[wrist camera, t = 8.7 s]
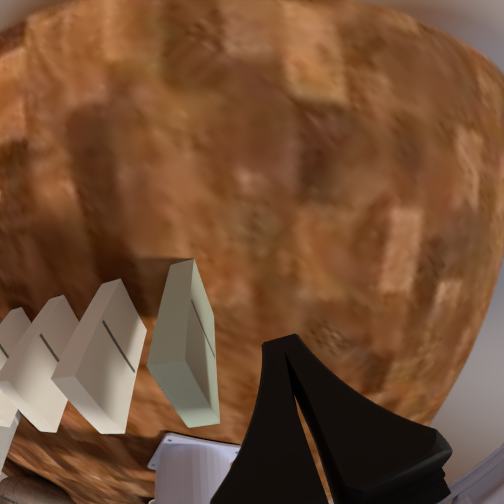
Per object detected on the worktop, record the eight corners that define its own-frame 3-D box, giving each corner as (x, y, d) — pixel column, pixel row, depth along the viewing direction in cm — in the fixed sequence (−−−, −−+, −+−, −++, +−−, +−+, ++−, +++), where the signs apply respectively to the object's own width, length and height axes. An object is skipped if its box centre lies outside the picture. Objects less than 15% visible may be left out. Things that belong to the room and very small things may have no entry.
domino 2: (63, 294, 16) (8, 380, 9) (91, 341, 18) (56, 432, 10) (49, 298, 16) (-6, 381, 9) (76, 344, 18) (40, 431, 10)
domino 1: (21, 306, 16) (-32, 381, 9) (48, 349, 17) (10, 427, 10) (11, 310, 16) (-41, 380, 8) (37, 351, 17) (-1, 425, 10)
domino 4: (194, 258, 16) (185, 359, 9) (213, 315, 18) (220, 422, 11) (170, 264, 16) (146, 366, 9) (192, 320, 18) (188, 427, 10)
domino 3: (120, 278, 16) (74, 376, 9) (146, 330, 18) (124, 433, 10) (101, 283, 16) (50, 378, 9) (128, 334, 18) (100, 433, 10)
